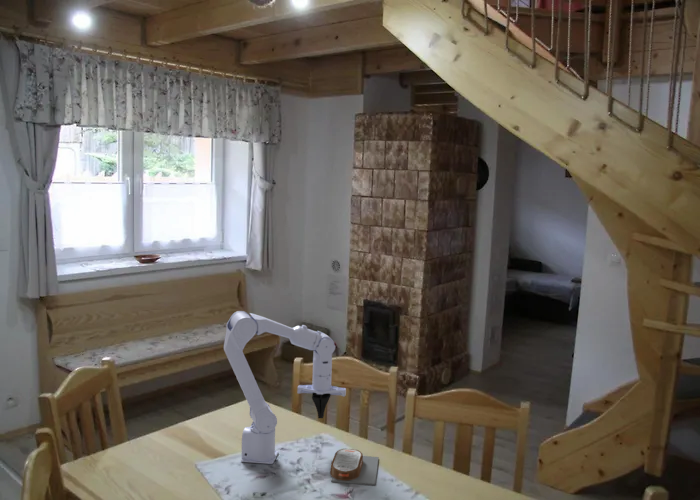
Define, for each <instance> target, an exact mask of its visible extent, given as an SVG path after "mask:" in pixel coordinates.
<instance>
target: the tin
mask: <svg viewBox="0 0 700 500" xmlns="http://www.w3.org/2000/svg"><path fill="white" fill-rule="evenodd" d="M363 456H364V455H363V452H362V451H360V450H358V449H353V448H341V449H338V450H336V452H335V453H334V456H333V459H332V461H331V464H330V471H329V474H330V476H331V478H332V477H333V478H335V479H338V480H345V481H348V480H353V479H356V478H358V477H359V475H360V472H361V468H362V465H363Z"/></svg>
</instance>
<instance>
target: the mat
mask: <svg viewBox="0 0 700 500" xmlns="http://www.w3.org/2000/svg"><path fill="white" fill-rule="evenodd" d="M379 458H380V457H379V456H368V455H363V465H362V468H361V472H360V475H359V477H358V478H356V479H353V480H348V481H345V480H338V479H335V478H333V477H332V476H331V479H330V481H331V483H343V484H353V485H365V486H366V485H367V486H376V481H377V474H378V465H379Z"/></svg>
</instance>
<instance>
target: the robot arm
mask: <svg viewBox="0 0 700 500" xmlns="http://www.w3.org/2000/svg"><path fill="white" fill-rule="evenodd" d="M225 325H226V330H225V336H224V342H223V351H224V353H225V356H226V358H227V360H228V362H229V364H230V367H231V368H232V370H233V373H234V375H235V376H236V380H237V381H238V384H239V386H240V389H241V390H242V392H243V395H244V397H245V400H246V402H247V404H248V406H249V416H250V419H252V422H251V425H250V426H245V427H244V428H243V430H242V435H241V459H240V462H242V463H251V464H253V463H254V464H266V465H273V464H274V462H275V460H276V459H277V456H278V454H279V450H276V427H277V424H278V417H277V416H276V414H274V411H272V409H271V407H270V404H268V403H267V402H266V400H265V398H264V396H263V394H262V391H261V390H260V387H259V386H258V383H257V380H256V379H255V376H254V374H253V372H252V369H251V367H250V365H249V362H248V361H247V358H246V356H245V354H244V352H243V351H244V348H245V347H246V345H247V344H248V342H249V341H250V340H251V339H253V337H254V336H255V335H257V336H260V335H262V334H264V333H269V334H272V335H276V336H279V337H284V338H285V339H289V341H290V344H291V345H294V346H296V347H299V348H302V349H306V350H309V351H313V356H312V381H311V382H312V384H304V385H303V384H299V385H298V386H297V391H296V392H297V394H312V396H311V399H312V401H313V403H314V405H315V408H316V412H317V418H318V419H324V416H325V411H326V406H327V404H328V402H329V400H330V398H331V396H341V397H345V396H347V395H346V394H347V388H346V387H339V386H336V385H335V386H334V385H332V379H333V378H332V374H333V372H332V369H333V353H335V351H336V348H337V347H336V345H335V341H334V340H333V339H332V337H330V336H329V335H327V334H326V333H324V332H322V331H320V330H317V331H316V330H313V329H310V328H308V326H307V325H305V324H301V325H296V326H293V327H291V326H288V325H285V324H283V323H281V322H278V321H276V320H273V319H270V318H267V317H265V316H262V315H258V314H255V313H251V312H249V313H248V312H246V311H244V310H237V311H235V312H234V313H232V315H230V318H229V320H228V321H227V323H226V324H225Z"/></svg>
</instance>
